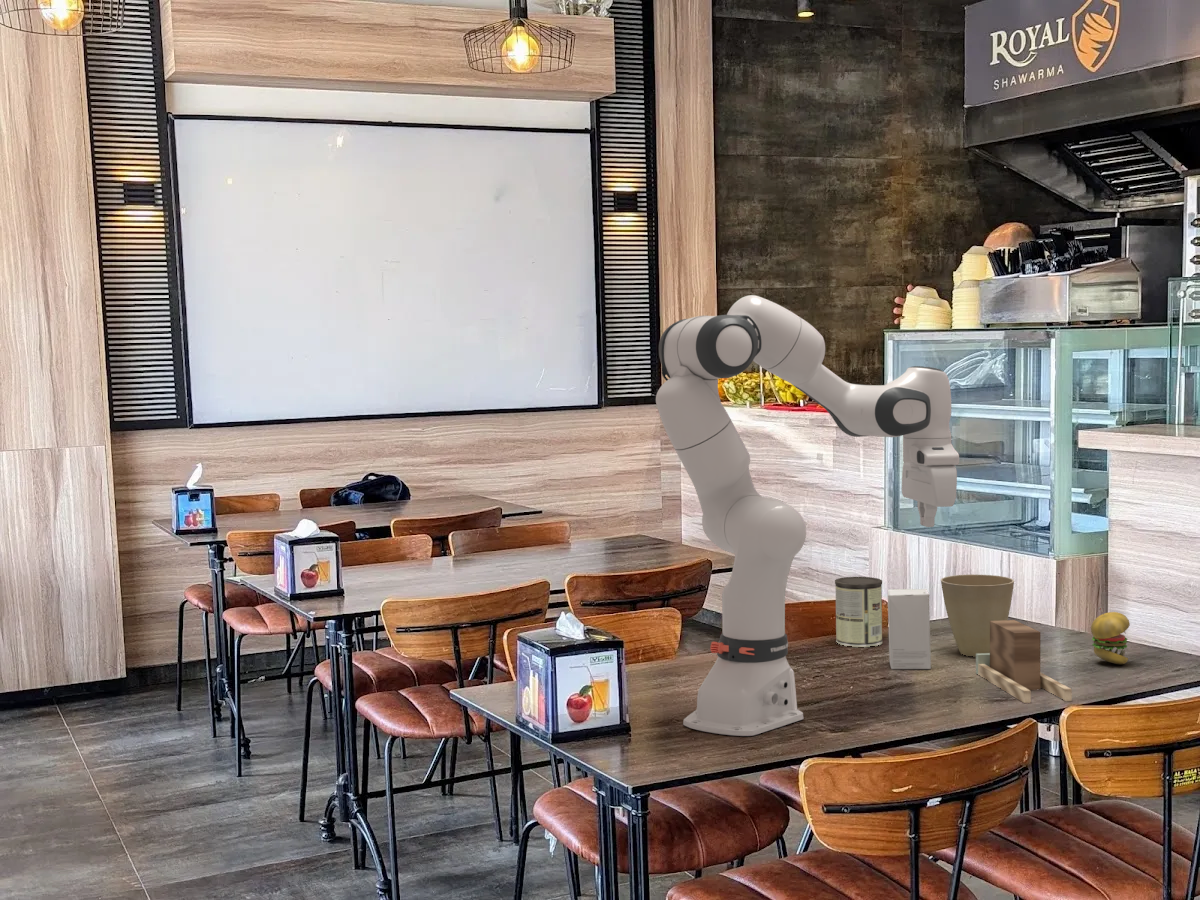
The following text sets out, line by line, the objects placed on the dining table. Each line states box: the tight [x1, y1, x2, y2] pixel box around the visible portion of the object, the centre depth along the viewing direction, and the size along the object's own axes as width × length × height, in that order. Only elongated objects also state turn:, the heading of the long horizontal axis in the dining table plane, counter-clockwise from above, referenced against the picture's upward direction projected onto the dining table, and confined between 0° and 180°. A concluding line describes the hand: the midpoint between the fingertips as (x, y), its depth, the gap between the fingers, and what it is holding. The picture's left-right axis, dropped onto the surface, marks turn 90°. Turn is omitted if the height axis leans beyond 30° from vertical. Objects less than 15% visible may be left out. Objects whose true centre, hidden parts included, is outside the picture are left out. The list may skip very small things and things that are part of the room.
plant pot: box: [940, 574, 1015, 658], centre depth 275 cm, size 15×15×16 cm
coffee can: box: [834, 576, 884, 648], centre depth 288 cm, size 10×10×14 cm
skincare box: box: [887, 588, 932, 670], centre depth 265 cm, size 8×7×16 cm
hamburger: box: [1090, 606, 1131, 665], centre depth 264 cm, size 8×7×12 cm
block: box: [990, 619, 1041, 691], centre depth 250 cm, size 12×5×11 cm, turn 5°
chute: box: [978, 664, 1073, 704], centre depth 246 cm, size 22×9×2 cm, turn 5°
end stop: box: [975, 653, 990, 675], centre depth 258 cm, size 1×9×4 cm, turn 95°
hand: (927, 526), depth 245 cm, fingers closed
